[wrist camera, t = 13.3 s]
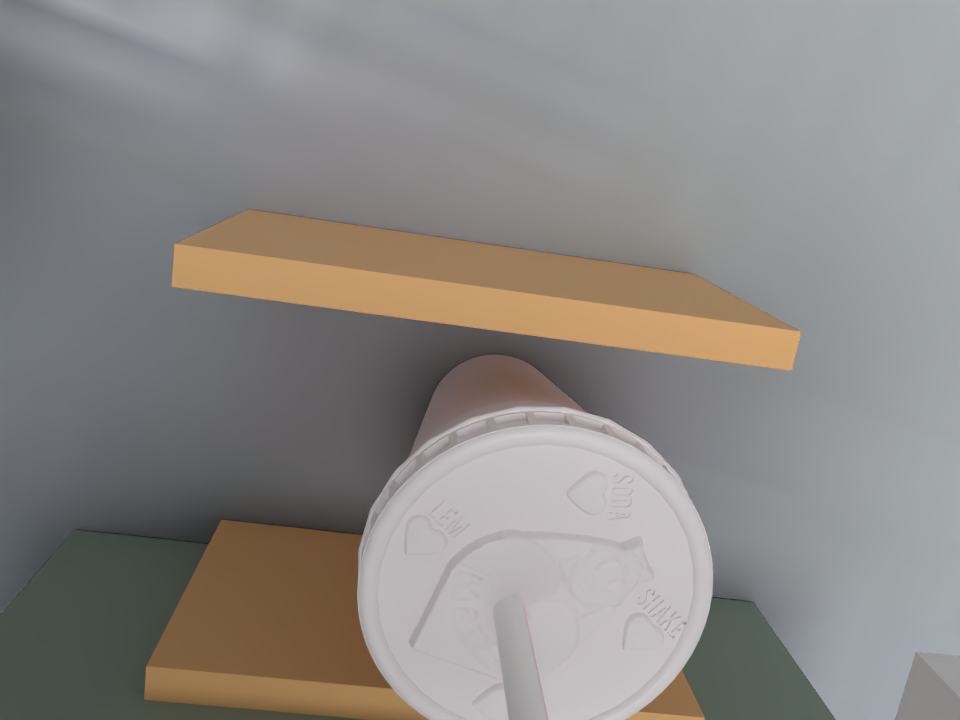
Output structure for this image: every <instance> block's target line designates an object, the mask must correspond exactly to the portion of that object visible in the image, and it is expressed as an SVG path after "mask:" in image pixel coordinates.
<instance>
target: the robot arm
mask: <svg viewBox="0 0 960 720" xmlns="http://www.w3.org/2000/svg"><path fill="white" fill-rule="evenodd" d="M895 720H960V656H952V655H941V654H931V653H920V652H916V654H915V657H914V660H913V664H912V667H911V670H910V673H909V676H908V680H907V683H906V686H905V689H904V692H903V696H902V699H901V702H900V705H899V708H898V712H897V715H896V718H895Z"/></svg>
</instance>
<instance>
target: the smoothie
mask: <svg viewBox="0 0 960 720" xmlns="http://www.w3.org/2000/svg"><path fill="white" fill-rule="evenodd" d="M712 591H713V562H712V556H711V549H710V545H709V541H708V537H707V534H706V531H705V528H704V525H703V523H702V520H701V518H700V516H699V514H698V512H697V510H696V508H695V506H694V504H693V503H692V501H691V499H690V497H689V495H688V493H687V491H686V489H685V487H684V485H683V483H682V481H681V479H680V477H679V475H678V473H677V472H676V471H675V470H674V469H673V468H672V467H671V466H670V465H669V464H668V463H667V462H666V460H665V459H664V458H663V457H662V456H661V455H660V454H659V453H658V452H657V451H656V450H655V449H654V448H653V447H652V446H651V445H650V443H649V442H647V441H646V440H644V439H642V438H641V437H639V436H637V435H636V434H634V433H632V432H630V431H629V430H627V429H625V428H624V427H622V426H620V425H619V424H617V423H615V422H614V421H612V420H610V419H608V418H604V417H600V416H597V415H593V414H589V413H587V412H586V411H585V410H583V409H582V408H581V407H580V406H579V405H578V404H577V403H575V402H574V401H573V400H572V399H571V398H570V397H568V396H567V395H566V394H565V393H564V392H563V391H562V390H560V389H559V388H558V387H557V386H556V385H555V384H553V383H552V382H551V381H550V380H549V379H548V378H546V377H545V376H544V375H543V374H542V373H541V372H540V371H538V370H537V369H536V368H535V367H533V366H532V365H530V364H529V363H527V362H525V361H523V360H520V359H518V358H515V357H511V356H506V355H484V356H479V357H475V358H472V359H469V360H467V361H465V362H463V363H461V364H459V365H458V366H456V367H455V368H453V369H452V370H451V371H450V372H449V373H448V374H447V375H446V376H445V377H444V378H443V379H442V380H441V382H440V383H439V384H438V386H437V387H436V389H435V391H434V393H433V396H432V398H431V401H430V403H429V406H428V409H427V411H426V414H425V416H424V419H423V421H422V424H421V427H420V429H419V432H418V434H417V437H416V439H415V442H414V445H413V447H412V450H411V452H410V455H409V457H408V459H407V460H406V461H405V462H404V463H402V464H401V465H400V466H399V467H398V468H397V469H396V470H395V471H394V472H393V474H392V476H391V477H390V479H389V480H388V482H387V483H386V485H385V487H384V488H383V490H382V491H381V493H380V494H379V496H378V498H377V499H376V501H375V502H374V504H373V505H372V507H371V509H370V512H369V515H368V519H367V522H366V526H365V529H364V532H363V536H362V539H361V542H360V546H359V549H358V588H357V600H358V613H359V619H360V625H361V629H362V632H363V636H364V639H365V642H366V645H367V647H368V650H369V652H370V654H371V657H372V658H373V660H374V662H375V664H376V666H377V668H378V669H379V671H380V672H381V674H382V675H383V677H384V678H385V680H386V681H387V682H388V684H389V685H390V686H391V687H392V688H393V689H394V691H395V692H396V693H397V694H398V695H399V696H400V697H401V698H402V699H403V700H404V701H405V702H406V703H407V704H408V705H410V706H411V707H412V708H413V709H415V710H416V711H417V712H419V713H420V714H421V715H423V716H424V717H426V718H427V719H429V720H626V719H627V718H629V717H631V716H632V715H634V714H635V713H637V712H638V711H640V710H641V709H642V708H644V707H645V706H646V705H648V704H649V703H650V702H652V701H653V700H654V699H655V698H656V697H657V696H658V695H659V694H661V693H662V692H663V691H664V690H665V689H666V688H667V686H668V685H669V684H670V683H671V682H672V681H673V680H674V679H675V678H676V676H677V675H678V674H679V672H680V671H681V670H682V669H683V667H684V666H685V664H686V663H687V661H688V660H689V658H690V656H691V655H692V653H693V651H694V649H695V647H696V645H697V643H698V641H699V640H700V637H701V635H702V632H703V629H704V627H705V624H706V621H707V617H708V613H709V610H710V604H711V599H712Z"/></svg>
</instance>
